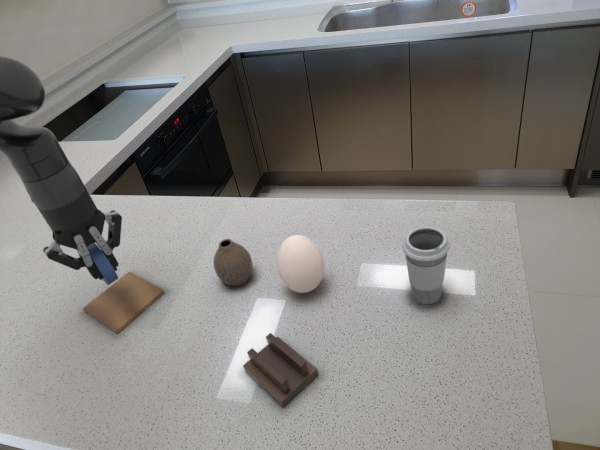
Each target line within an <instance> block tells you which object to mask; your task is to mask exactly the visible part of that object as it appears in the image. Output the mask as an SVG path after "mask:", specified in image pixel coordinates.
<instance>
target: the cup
mask: <svg viewBox="0 0 600 450" xmlns="http://www.w3.org/2000/svg"><path fill="white" fill-rule="evenodd" d="M401 249H402V251H403V253H404V255H405V261H406V268H407V274H408V282H409V284H410V291H411V296H412V299H414V301H415V302H416V303H419V304H422V305H432V304H436V303H437V302H438V301H439V300H440V299H441V297H442V292H443V291H442V289H443V284H444V281H445V275H446V268H447V267H446V266H447V258H448V253H449V251H450V249H451V241H450V239H449V237H448V236H447V234H446V233H445V232H444V230H442V229H441V228H438V227H435V226H431V225H423V226H417V227H415V228H413V229H411V230H410V231H408V232H407V234H406V236H405V238H404V240H403V241H402V245H401Z"/></svg>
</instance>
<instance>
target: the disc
mask: <svg viewBox="0 0 600 450" xmlns="http://www.w3.org/2000/svg"><path fill="white" fill-rule="evenodd" d="M87 249H88V251H89V255H90V257H91V259H92V261H93V262H94V263H95V264H96V266H97V268H98V269H99V271H100V273H101V274H102V276H103V277H104V278H103V279H102V281H103V282H104V283H105V284H106V285H107V286H109V285H111V284H113V283H115V282H117V281H118V280H119V276H118V274H117V271H115V270H114V268H113V267H112V265H111V264H110V262H109V260H108V259H107V258H106V256H105V255H104V253H103V252H102V251H101V249H100V248H99V246H98V245H97V244H96V243H92V244H90V245H89V246H88V247H87Z"/></svg>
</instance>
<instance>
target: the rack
mask: <svg viewBox="0 0 600 450" xmlns="http://www.w3.org/2000/svg"><path fill="white" fill-rule="evenodd" d="M265 339H266V342H267V345H266V346H265V347H263V348H262V349H261V350H260V351H259V352H257V351H256V349H254V348H253V347H252V348H250V349H249V350H247V352H246V353H247V356H248V358H249V360H248V361H246V362H245V363H244V364H243V365H242V368H243V369H244V371H245V373H246V374H247V375H248V376H249V377H250V378H251V379H252V380H254V382H256V383H257V384H258V385H259V386H260V387H261V388H262V390H264V391H265V392H266V393H267V394H268V396H270V397H271V398H272V399H273V400H274V401H275V402H276V403H277V404H278V405H279V406H280V407H281V408H282V409H284V408H285V407H286V406H287V405H288V404H289V403H291V402H292V401H293V400H294V399H295V398H296V397H297V396H298V395H299V394H300V393H301V392H302V391H304V390H305V388H306V387H308V385H310V384H311V383H312V382H313V381H314V380H315V379H316V378H317V377H318V376H319V375H320V374H319V371H318V368H317V367H315V365H313V364H312V363H311V362H309V361H308V360H307V359H306V358H305V357H303V356H302V355H301V354H300V353H299V352H297V351H296V350H295V349H293V348H292V347H291V346H290V345H288V343H286V341H284V340H283V339H281V338H280V337H279V336H275V335H273V334H272V333H271V332H270V333H268V334H267V335H266V336H265Z"/></svg>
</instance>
